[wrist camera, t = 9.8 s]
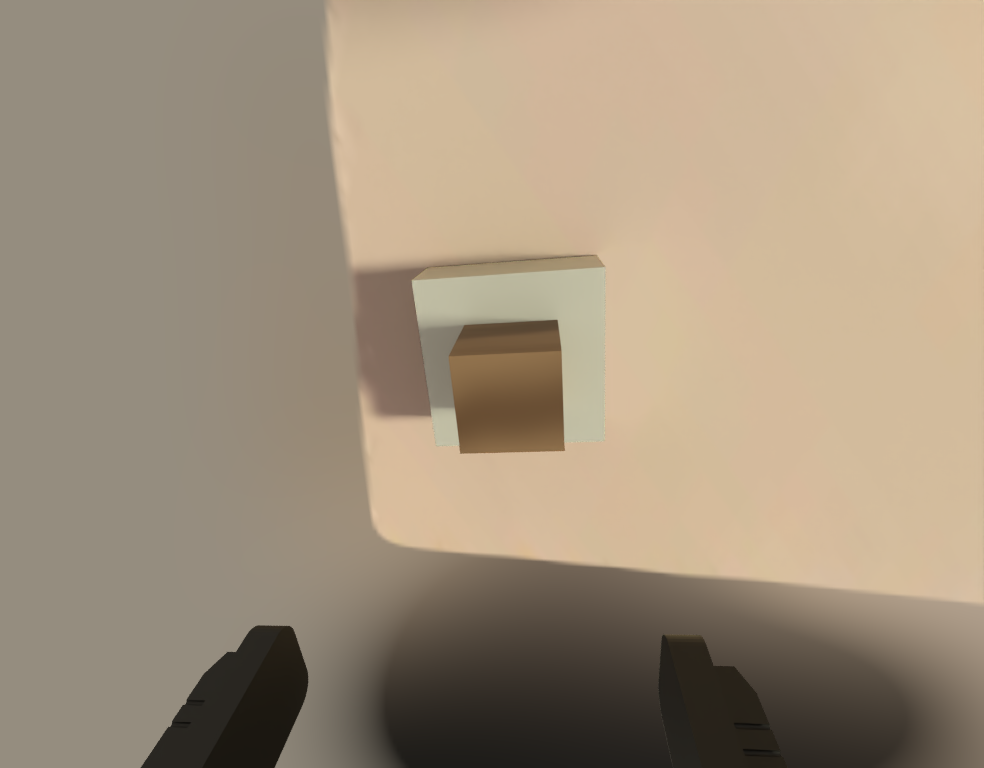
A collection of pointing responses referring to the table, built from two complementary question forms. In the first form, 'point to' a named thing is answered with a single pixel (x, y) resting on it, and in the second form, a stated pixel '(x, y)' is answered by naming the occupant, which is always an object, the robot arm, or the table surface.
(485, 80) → the table surface
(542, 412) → the walnut cube
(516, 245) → the table surface
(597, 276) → the base slab
